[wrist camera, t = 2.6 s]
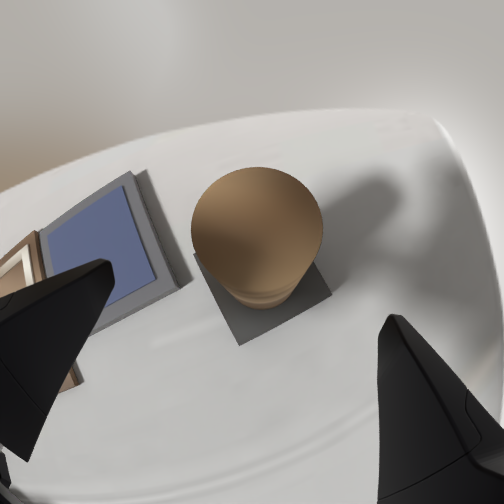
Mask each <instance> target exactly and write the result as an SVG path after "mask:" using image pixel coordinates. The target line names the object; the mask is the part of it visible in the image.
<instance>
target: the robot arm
mask: <svg viewBox="0 0 504 504" xmlns="http://www.w3.org/2000/svg"><path fill="white" fill-rule="evenodd" d="M114 286H115V277H114V272H113V267H112V263H111V261H110V260H107V259H103V258H99V259H96V260H93V261H90V262H88V263H85V264H82V265H80V266H77V267H75V268H72V269H69V270H67V271H64V272H62V273H59V274H57V275H54V276H51V277H49V278H46V279H44V280H42V281H39V282H37V283H34V284H32V285H29V286H27V287H24V288H22V289H20V290H17V291H16V292H12V293H10V294H8V295H5V296H3V297H1V298H0V504H24V503H23V502H22V501H20V500H19V499H18V498H17V497H16V496H15V495H13V494H12V493H11V492H10V491H9V490H8V489H9V486H10V484H11V479H10V475H9V471H8V467H7V462H6V457H5V454H4V453H3V452H2V451H1V450H2V448H3V446H5V447H6V448H7V449H9V450H10V451H11V452H13V453H14V454H16V455H17V456H18V457H20V458H21V459H23V460H24V461H26V462H28V461H29V459H30V457H31V454H32V452H33V449H34V447H35V444H36V442H37V439H38V437H39V434H40V432H41V430H42V427H43V425H44V423H45V421H46V418H47V416H48V414H49V411H50V409H51V407H52V405H53V403H54V401H55V399H56V397H57V395H58V393H59V391H60V389H61V387H62V385H63V383H64V381H65V379H66V377H67V375H68V373H69V371H70V369H71V367H72V365H73V364H74V362H75V360H76V358H77V356H78V354H79V353H80V351H81V349H82V347H83V345H84V344H85V342H86V340H87V338H88V337H89V335H90V333H91V332H92V330H93V328H94V326H95V325H96V323H97V321H98V319H99V317H100V315H101V313H102V311H103V309H104V307H105V305H106V303H107V301H108V298H109V296H110V294H111V292H112V290H113V289H114ZM377 387H378V404H379V439H380V451H379V484H378V499H377V500H378V501H377V504H504V429H503V428H502V427H501V426H500V425H499V424H498V423H497V422H496V421H495V419H494V418H493V417H492V416H491V415H490V414H489V413H488V412H487V411H486V410H485V408H484V407H483V406H482V405H481V404H480V403H479V401H478V400H477V399H476V398H475V397H474V395H473V394H472V393H471V392H470V391H469V389H467V387H466V386H465V385H464V383H463V382H462V381H461V380H460V379H459V378H458V376H457V375H456V374H455V373H454V372H453V371H452V369H451V368H450V367H449V366H448V365H447V364H446V363H445V361H444V360H443V359H442V358H441V357H440V356H439V355H438V354H437V352H436V351H435V350H434V349H433V348H432V347H431V346H430V345H429V344H428V343H427V341H426V340H425V339H424V338H423V337H422V336H421V335H420V334H419V333H418V332H417V331H416V330H415V329H414V327H413V326H412V325H411V324H410V323H409V322H408V321H407V320H406V319H405V318H404V317H403V316H402V315H396V314H390V315H389V316H388V317H387V319H386V321H385V323H384V325H383V327H382V329H381V331H380V333H379V336H378V370H377Z"/></svg>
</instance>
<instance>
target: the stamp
mask: <svg viewBox="0 0 504 504" xmlns="http://www.w3.org/2000/svg"><path fill="white" fill-rule="evenodd" d="M322 235H323V223H322V216H321V212H320V209H319V206H318V204H317V202H316V200H315V198H314V197H313V195H312V194H311V192H310V191H309V190H308V189H307V188H306V187H305V186H304V185H303V184H302V183H301V182H300V181H298V180H297V179H296V178H294V177H292V176H291V175H289V174H287V173H284V172H282V171H279V170H276V169H271V168H264V167H251V168H244V169H240V170H236V171H234V172H231V173H229V174H227V175H225V176H223V177H221V178H220V179H218V180H217V181H215V182H214V183H213V184H212V185H211V186H210V187H209V188H208V189H207V190H206V191H205V192H204V193H203V195H202V196H201V198H200V199H199V201H198V203H197V205H196V207H195V210H194V213H193V217H192V222H191V237H192V242H193V247H194V249H195V252H196V253H195V254H193V255H194V257H195V259H196V261H197V264H198V266H199V268H200V270H201V272H202V274H203V276H204V278H205V280H206V282H207V284H208V286H209V288H210V290H211V292H212V294H213V296H214V298H215V300H216V302H217V304H218V306H219V308H220V310H221V312H222V314H223V316H224V318H225V320H226V322H227V324H228V326H229V328H230V330H231V332H232V333H233V335H234V337H235V339H236V341H237V343H238V345H239V346H240V345H242V344H244V343H246V342H248V341H250V340H252V339H254V338H256V337H258V336H260V335H262V334H264V333H266V332H267V331H269V330H271V329H273V328H275V327H277V326H279V325H281V324H282V323H284V322H286V321H288V320H290V319H291V318H293V317H295V316H297V315H299V314H300V313H302V312H304V311H306V310H307V309H309V308H311V307H313V306H314V305H316V304H318V303H320V302H321V301H323V300H325V299H326V298H328V297H330V296H331V295H332V293H331V291H330V290H329V288H328V286H327V284H326V283H325V281H324V279H323V277H322V276H321V274H320V272H319V270H318V269H317V267H316V265H315V264H314V262H313V260H314V258H315V257H316V255H317V253H318V250H319V248H320V244H321V241H322Z"/></svg>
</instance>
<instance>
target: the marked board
mask: <svg viewBox="0 0 504 504" xmlns="http://www.w3.org/2000/svg"><path fill="white" fill-rule="evenodd" d="M44 279H46V277H45V272H44V267H43V261H42V256H41V250H40V243H39V236H38V232H37V231H35V230H34V231H32V232H31V233H30V234H29V235H28V236H26V237H25V238H24V239H23V240H22V241H21V242H19V243H18V244H17V245H16V246H15V247H14V248H13V249H11V250H10V251H9V252H8V253H7V254H6V255H5V256H4V257H3V258H2V259H1V260H0V298H1V297H3V296H5V295H8V294H10V293H12V292H16V291H17V290H20V289H22V288H24V287H27V286H29V285H32V284H34V283H37V282H39V281H42V280H44ZM78 385H79V383H78V381H77V378H76V376H75V373H74V371H73V368H72V367H71V369H70V371H69V373H68V375H67V377H66V379H65V381H64V383H63V385H62V387H61V389H60V391H59V393H61V392H63V391H66V390H68V389H71V388H73V387H76V386H78Z"/></svg>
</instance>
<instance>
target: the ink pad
mask: <svg viewBox="0 0 504 504" xmlns="http://www.w3.org/2000/svg"><path fill="white" fill-rule="evenodd" d="M39 233H40V240H41V247H42V253H43V259H44V265H45V270H46V275H47V278H49V277H51V276H54V275H57V274H59V273H62V272H64V271H67V270H69V269H72V268H75V267H77V266H80V265H82V264H85V263H88V262H90V261H93V260H96V259H99V258H103V259H107V260H110V261H111V263H112V267H113V272H114V277H115V286H114V289H113V290H112V292H111V294H110V296H109V298H108V301H107V303H106V305H105V307H104V309H103V311H102V313H101V315H100V317H99V319H98V321H97V323H96V325H95V326H94V328H93V330H92V332H91V333H90V335H89V336H91V335H93V334H95V333H97V332H99V331H101V330H103V329H105V328H106V327H108V326H110V325H112V324H114V323H116V322H118V321H120V320H122V319H124V318H126V317H127V316H129V315H131V314H133V313H135V312H137V311H139V310H141V309H143V308H145V307H147V306H149V305H150V304H152V303H154V302H156V301H158V300H160V299H162V298H164V297H166V296H168V295H170V294H171V293H173V292H175V291H177V290H179V289H180V287H179V285H178V283H177V281H176V278H175V276H174V274H173V272H172V269H171V267H170V265H169V262H168V260H167V258H166V255H165V253H164V251H163V248H162V246H161V243H160V241H159V238H158V236H157V233H156V231H155V228H154V226H153V223H152V221H151V218H150V216H149V213H148V211H147V208H146V205H145V203H144V200H143V197H142V194H141V192H140V189H139V186H138V183H137V181H136V178H135V176H134V175H133V173H132V172H131V171H128V172H127V173H125V174H123V175H122V176H120V177H118V178H117V179H115V180H113V181H112V182H110V183H109V184H107V185H105V186H104V187H102V188H101V189H99V190H98V191H96V192H95V193H93V194H92V195H90V196H89V197H87V198H86V199H84V200H83V201H81V202H80V203H78V204H77V205H75V206H74V207H73V208H71V209H70V210H68V211H67V212H66V213H64V214H63V215H61V216H60V217H59V218H57V219H56V220H55V221H53V222H52V223H51V224H49V225H48V226H47V227H46V228H44V229H43V230H42V231H40V232H39Z"/></svg>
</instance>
